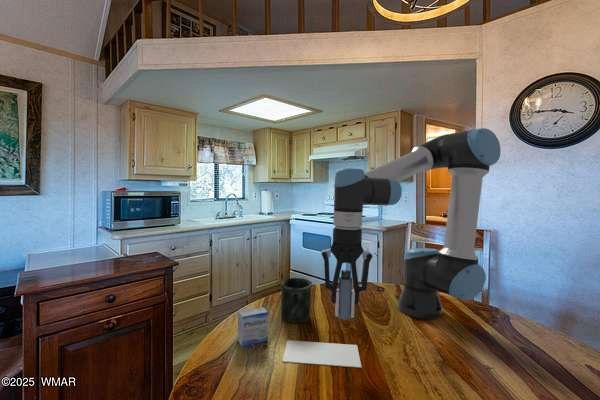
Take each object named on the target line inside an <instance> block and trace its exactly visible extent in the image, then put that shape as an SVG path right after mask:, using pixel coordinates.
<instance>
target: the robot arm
mask: <svg viewBox="0 0 600 400" xmlns="http://www.w3.org/2000/svg"><path fill="white" fill-rule="evenodd" d="M501 154H502V153H501V144H500V140H499V138H498V137H497V135H496V133H494V132H493V131H492V130H491V129H489V128H485V127H484V128H472V129H469V130H463V131H459V132H458V131H457V132H454V133H448V134H442V135H440V136H437V137H435V138H432V139H431V140H428V141H427V142H424V143H422V144H420V145H418V146H415V147H413V149H412V150H411V152H409V153H407V154H405V155H403V156H400V157H397V158H395V159H393V160H391V161H389V162H386V163H384V164H381V165H379V166H377V167H375V168H372V169H371V170H370V169H369V170H367V171H364V169H362V168H355V167H354V168H350V167H349V168H346V167H345V168H340V169H337V170H336V172H335V175H334V176H335V177H334V184H333V187H334V192H333V193H334V195H333V197H334V198H333V204H334V205H333V218H332V219H333V226H334V227H333V229H332V244H331V245H330V248H328V249H322V250H321V257H322V258H323V262H324V264H323V265H324V287H325V289H328V290H330V291H331V295H330V296H331V303H332V304H335V305H334V309H335V311H334V315H335V317H336V318H338V314H339V288H338V286H339V277H341V270H342V266H343V264H350V271H351V278H352V287H353V289H352V295H351V318H350V319H352V318H353V319H355V305H359V303H360V302H359V301H360V299H359V298H360V293H361V292H364V291H365V292H366V291H367V287H368V278H369V269H370V262H371V260H372V258H373V254H372V253H371V252H370V251H366V250H364V247H363V245H362V241H363V240H362V238H363V237H362V236H363V230H362V227H363V211H364V206H385V207H388V206H393V205H394V206H395V205H396V204H398V203H399V202H400V201H401V198H402V195H403V194H402V192H403V191H402V190H403V188H402V186H401V183H400V182H401V181H404V180H405V179H407V178H410V177H412V176H414V175H417V174H418V173H420V172H421V173H426V172H429V171H431V170H436V169H444V168H447V172H448V173H449V174H450V175H451V184H450V193H449V201H448V208H447V209H448V210H447V216H446V224H445V225H446V226H445V233H444V241H443V247H442V248H441V249H436V248H427V247H424V248H423V247H417V248H409V249H407V250H406V251H405V253H404V259H403V261H404V263H403V289H402V291H401V293H400V296H399V298H398V301H397V302H398V303H397V309H399V311H400V312H401V313H403V314H405V315H407V316H410V317H412V318H417V319H423V320H437V319H439V317H440V318H441V317H442V316H443V306H442V303H441V300H440V295H439V292H441V293H444V294H446V295H447V296H450V297H452V298H455V299H459V300H462V301H470V300H473V299H474V298H477V296H478V295H479V294H480V293H481V292H482V291H483V288H484V287H485V283H486V280H487V279H486V278H487V277H486V276H487V275H486V272H485V268H484V267H482V266H481V265H480V264H479V257H478V255H477V254H476V253H475V244H476V236H477V227H478V221H479V220H478V219H479V211H480V204H481V203H480V202H481V194H482V186H483V185H482V184H483V179H484V177H485V176H486V175H488V174H489V173H490V167H491V166H494V165H495V164H497V163H498V161H499V160H500V158H501ZM331 253H332V254H333V256H334V258H335V259H336V264H335V270H334V274H333V278H332V282H330V281H331V280H330V278H331V277H330V260H329V258H330V257H331ZM361 256H362V259H363V261H362V270H361V277H360V278H361V279H360V284H359V278H358V271H357V260H358V259H359V258H360V257H361ZM441 315H442V316H441ZM436 318H437V319H436Z"/></svg>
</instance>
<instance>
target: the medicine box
mask: <svg viewBox="0 0 600 400" xmlns="http://www.w3.org/2000/svg"><path fill="white" fill-rule="evenodd" d="M268 340H269V312H268V311H267V309H266V308H265V307H264V306H262V307H257V308H251V309H246V310H240V311H237V341H238V343H239V345H240V346H241V348H245V347H249V346H253V345H257V344H261V343H264V342H268Z"/></svg>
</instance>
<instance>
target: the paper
mask: <svg viewBox="0 0 600 400" xmlns="http://www.w3.org/2000/svg"><path fill="white" fill-rule="evenodd" d="M282 363H292V364H305V365H306V364H307V365H319V366H333V367H334V366H336V367H347V368H359V369H362V368H363V367H362V363H361V357H360V353H359V348H358V345H357V344H349V343H347V344H345V343H335V342H334V343H332V342H318V341H306V340H305V341H303V340H290V339H288V340H287V341H286V345H285V349H284V353H283V356H282Z"/></svg>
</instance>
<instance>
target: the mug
mask: <svg viewBox="0 0 600 400" xmlns="http://www.w3.org/2000/svg"><path fill="white" fill-rule="evenodd" d="M280 285H281V307H280V308H281V310H280V311H281V313H280V315H281V318H282V319H283V320H284V321H285V322H287V323H291V324H301V323H305V322H307V321H308V320H309V319H310V318H311V299H312V297H311V296H312V295H311V294H312V286H313V282H312V281H311V280H309V279H306V278H303V277H290V278H284V279H283V280H282V281H281V282H280Z"/></svg>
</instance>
